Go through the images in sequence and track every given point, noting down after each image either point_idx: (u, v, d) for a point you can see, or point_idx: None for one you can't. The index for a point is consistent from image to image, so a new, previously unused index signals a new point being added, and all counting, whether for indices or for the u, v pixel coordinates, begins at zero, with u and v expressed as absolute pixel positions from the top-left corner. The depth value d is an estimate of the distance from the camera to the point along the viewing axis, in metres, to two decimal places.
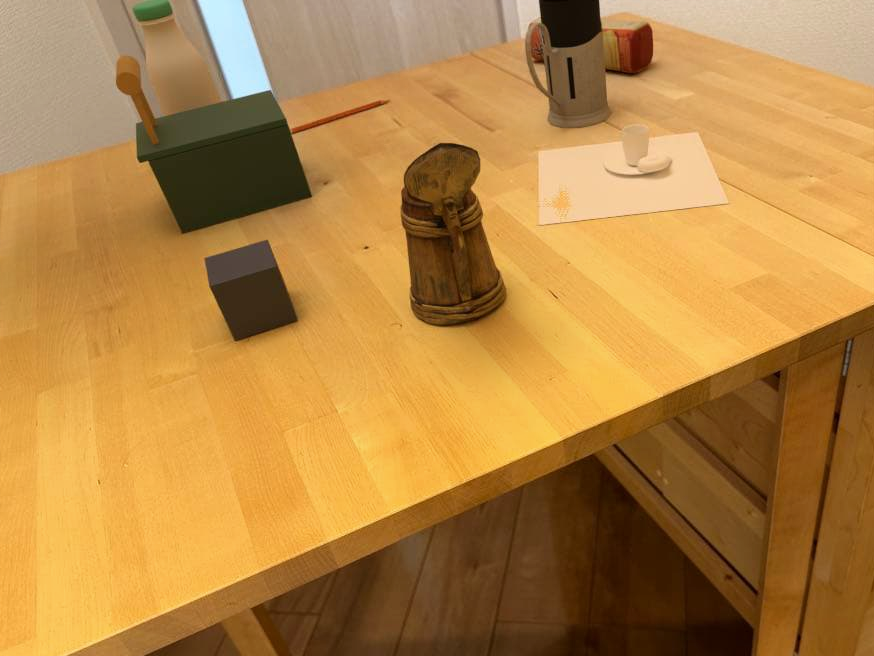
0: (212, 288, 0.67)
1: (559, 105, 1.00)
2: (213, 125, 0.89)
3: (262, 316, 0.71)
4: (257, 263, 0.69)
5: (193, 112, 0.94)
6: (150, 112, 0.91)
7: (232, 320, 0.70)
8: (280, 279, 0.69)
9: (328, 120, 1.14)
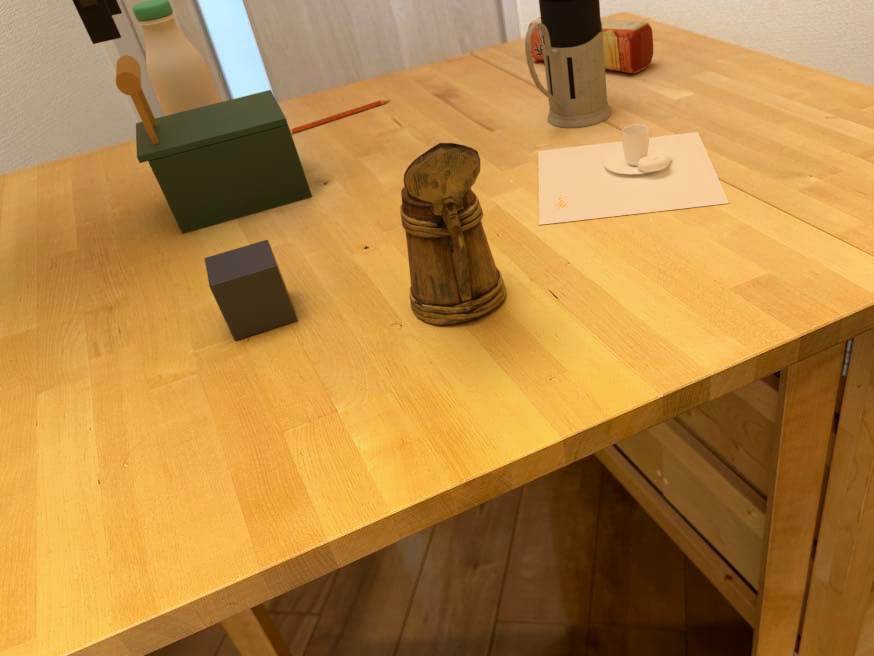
0: (212, 288, 0.67)
1: (559, 105, 1.00)
2: (213, 125, 0.89)
3: (262, 316, 0.71)
4: (257, 263, 0.69)
5: (193, 112, 0.94)
6: (150, 112, 0.91)
7: (232, 320, 0.70)
8: (280, 279, 0.69)
9: (328, 120, 1.14)
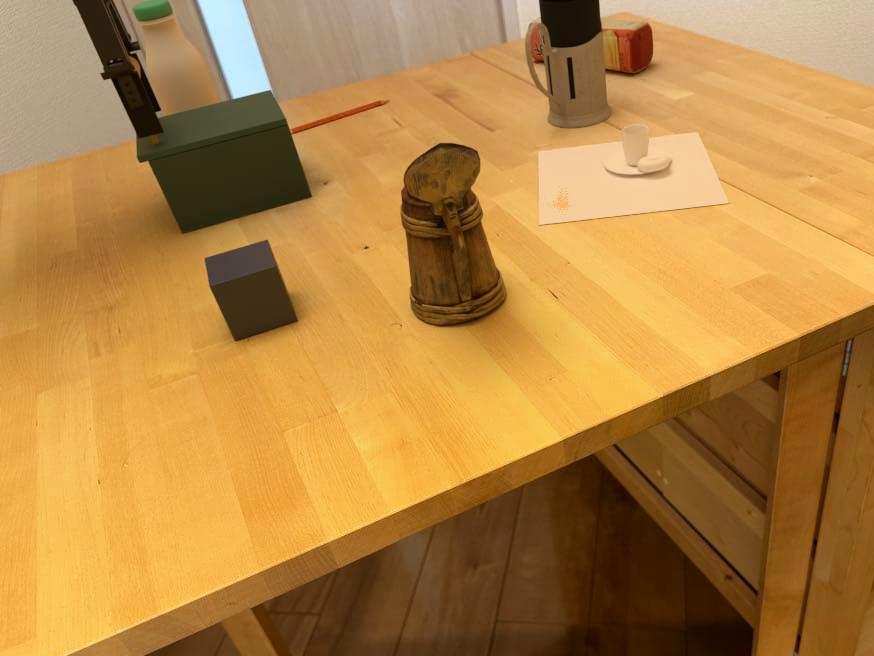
0: (212, 288, 0.67)
1: (559, 105, 1.00)
2: (213, 125, 0.89)
3: (262, 316, 0.71)
4: (257, 263, 0.69)
5: (193, 112, 0.94)
6: None
7: (232, 320, 0.70)
8: (280, 279, 0.69)
9: (328, 120, 1.14)
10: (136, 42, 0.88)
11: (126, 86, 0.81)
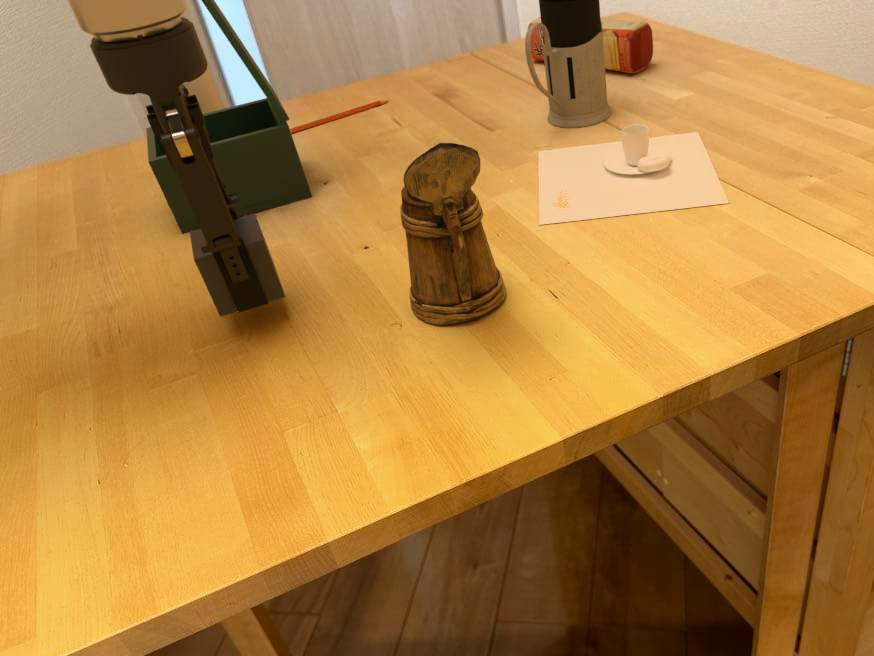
0: (197, 261, 0.66)
1: (559, 105, 1.00)
2: (242, 46, 0.86)
3: None
4: (243, 237, 0.68)
5: (225, 18, 0.90)
6: None
7: (217, 295, 0.68)
8: (267, 254, 0.68)
9: (327, 120, 1.14)
10: (233, 194, 0.71)
11: (230, 259, 0.65)
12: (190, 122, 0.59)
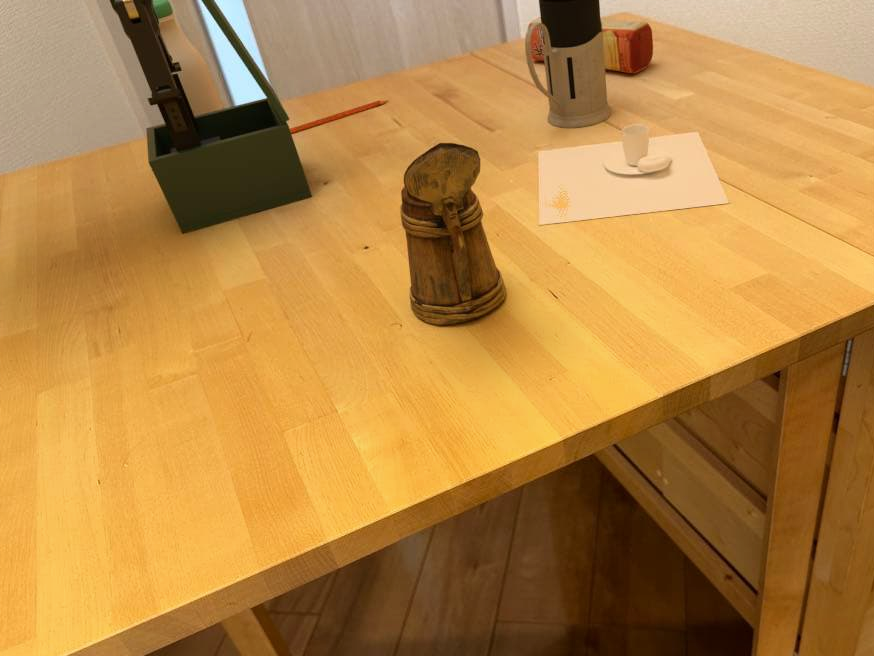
0: None
1: (559, 105, 1.00)
2: (242, 46, 0.86)
3: None
4: None
5: (225, 18, 0.90)
6: None
7: None
8: None
9: (327, 120, 1.14)
10: (177, 63, 0.92)
11: (172, 111, 0.83)
12: None
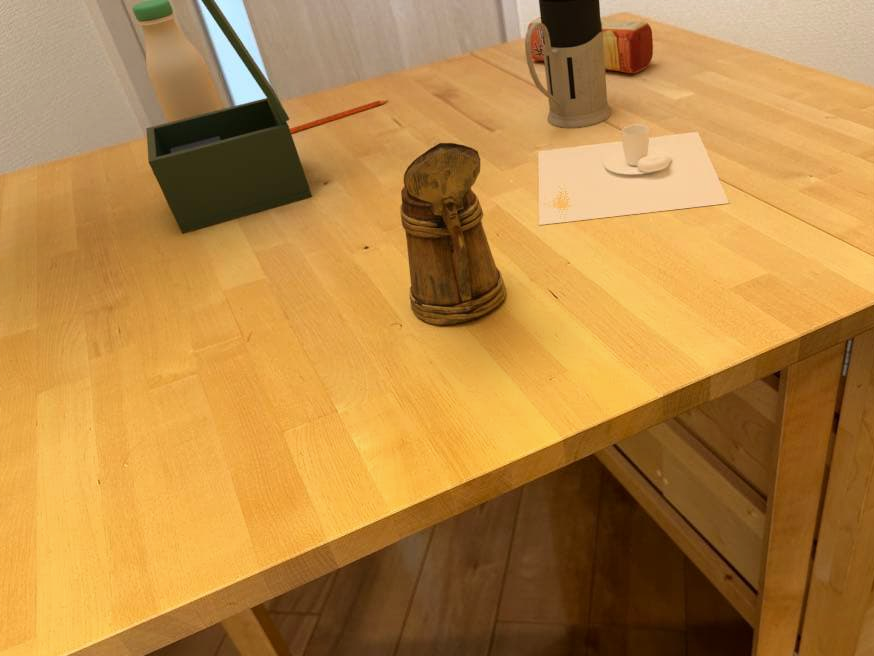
0: None
1: (559, 105, 1.00)
2: (242, 46, 0.86)
3: None
4: None
5: (225, 18, 0.90)
6: None
7: None
8: None
9: (326, 120, 1.14)
10: None
11: None
12: None
